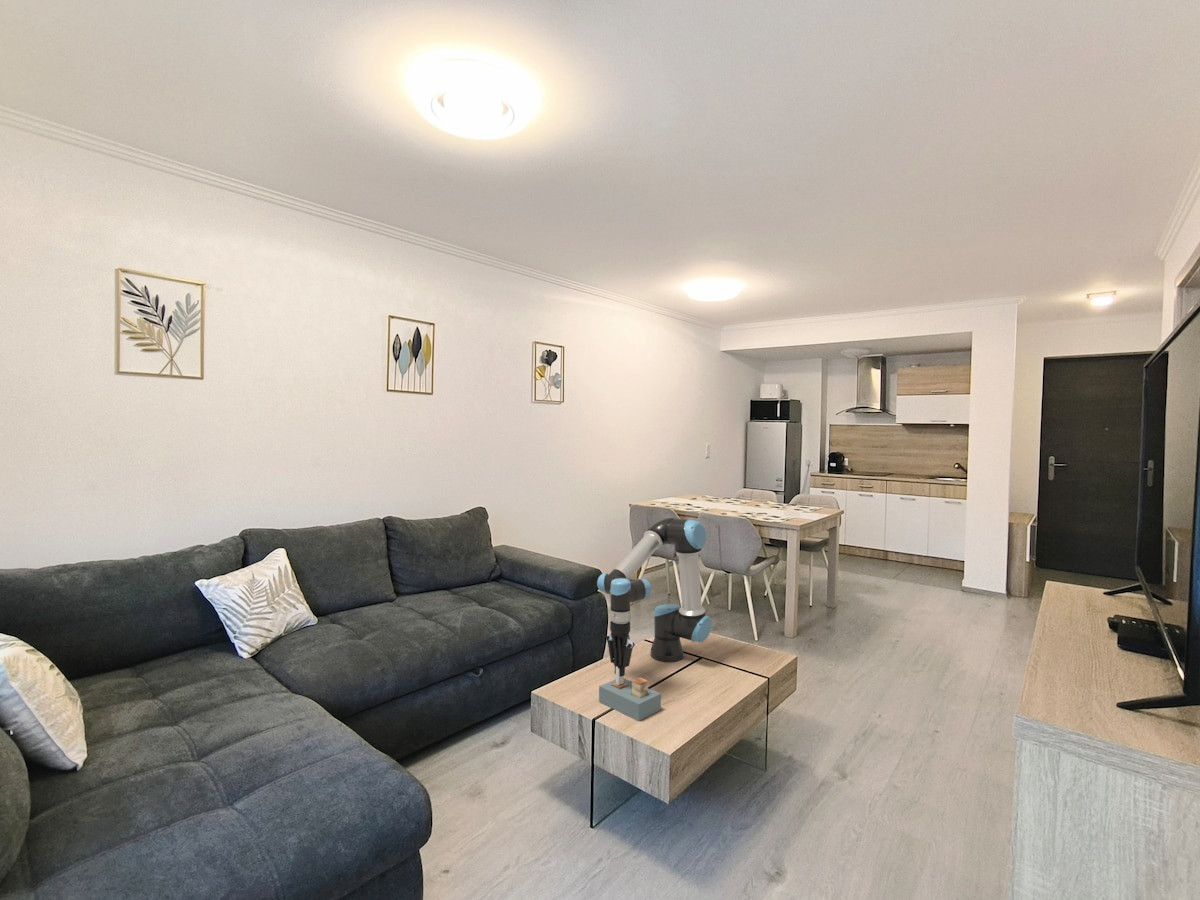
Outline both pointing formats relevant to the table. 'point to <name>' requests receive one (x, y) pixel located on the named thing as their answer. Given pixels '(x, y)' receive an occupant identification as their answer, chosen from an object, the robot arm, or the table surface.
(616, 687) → the peg
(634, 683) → the peg
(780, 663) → the table surface
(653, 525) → the robot arm
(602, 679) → the table surface
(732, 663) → the table surface
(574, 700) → the table surface
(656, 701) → the socket block
